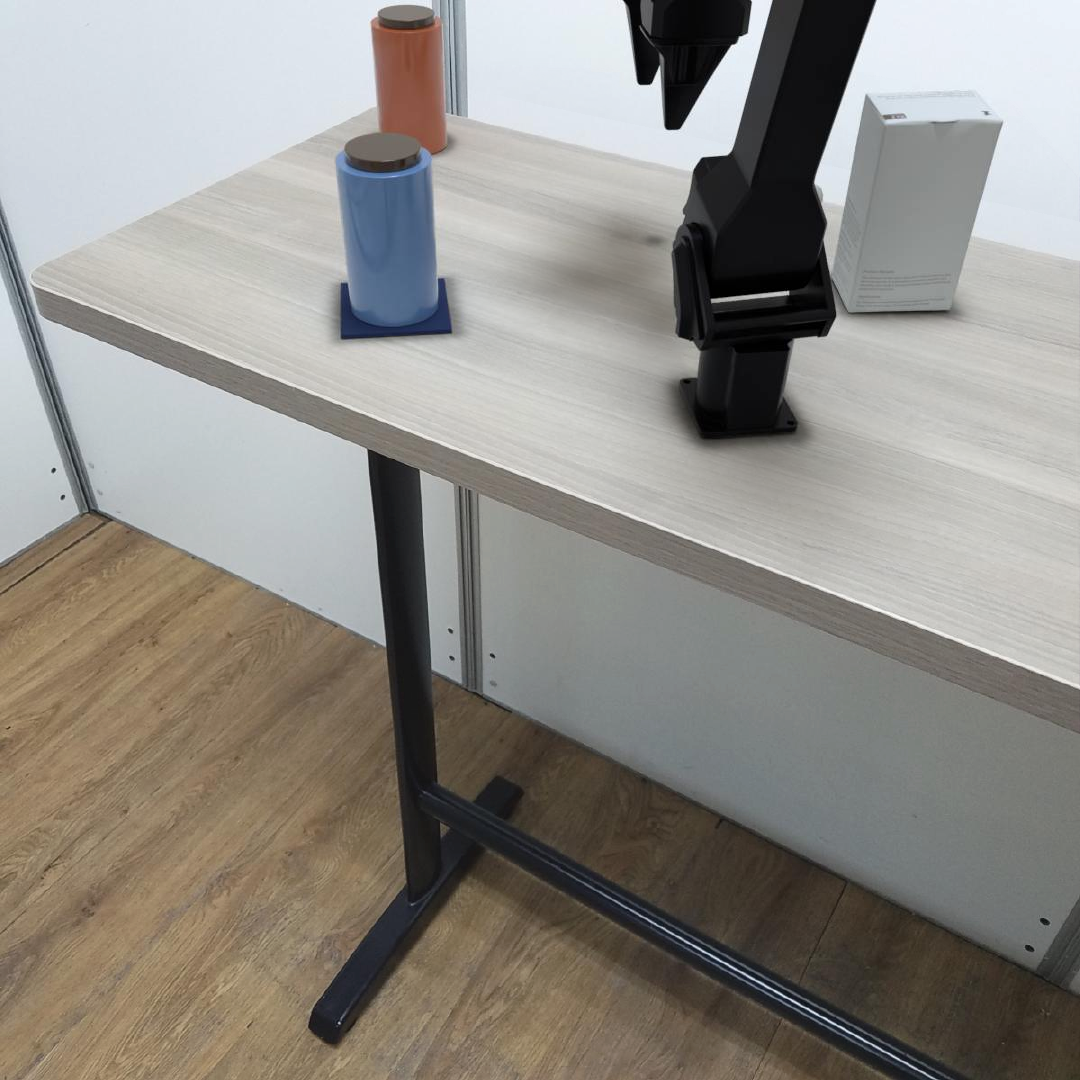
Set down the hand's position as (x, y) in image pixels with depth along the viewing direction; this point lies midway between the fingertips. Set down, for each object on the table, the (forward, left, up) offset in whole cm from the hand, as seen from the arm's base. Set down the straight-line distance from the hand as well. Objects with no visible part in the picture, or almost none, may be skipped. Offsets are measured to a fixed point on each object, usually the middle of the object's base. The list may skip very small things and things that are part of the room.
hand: (657, 105), depth 78 cm
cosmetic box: (-6, -18, -13) cm, 23 cm away
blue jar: (-4, +20, -13) cm, 24 cm away
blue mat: (-4, +20, -13) cm, 24 cm away
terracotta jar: (+29, +17, -13) cm, 36 cm away
